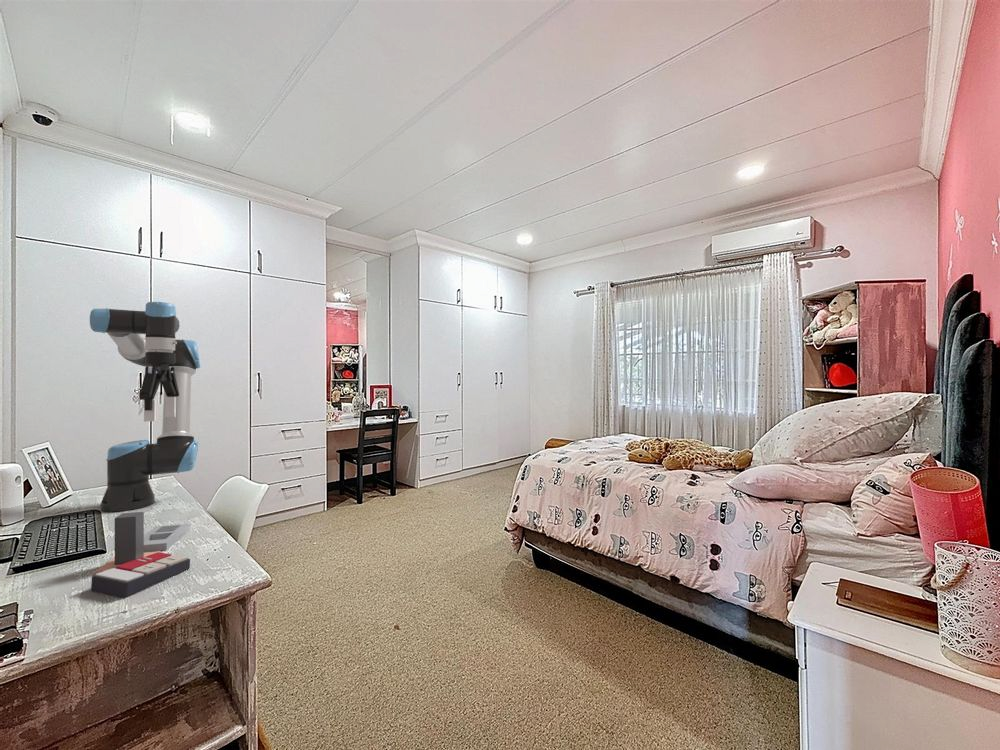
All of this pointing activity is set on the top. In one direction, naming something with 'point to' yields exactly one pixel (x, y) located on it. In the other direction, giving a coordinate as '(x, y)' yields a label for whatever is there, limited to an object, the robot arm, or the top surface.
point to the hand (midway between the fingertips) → (160, 418)
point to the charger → (129, 537)
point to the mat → (111, 563)
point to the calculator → (138, 574)
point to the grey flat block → (164, 537)
